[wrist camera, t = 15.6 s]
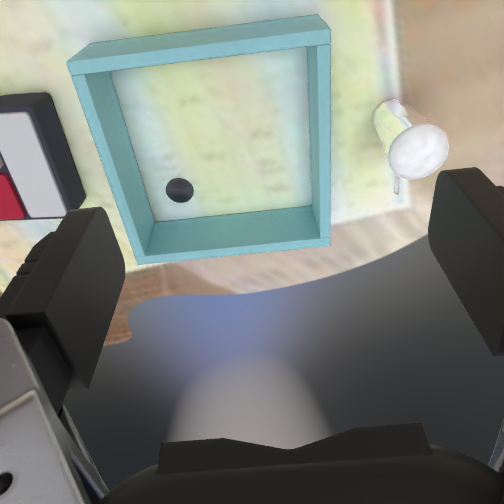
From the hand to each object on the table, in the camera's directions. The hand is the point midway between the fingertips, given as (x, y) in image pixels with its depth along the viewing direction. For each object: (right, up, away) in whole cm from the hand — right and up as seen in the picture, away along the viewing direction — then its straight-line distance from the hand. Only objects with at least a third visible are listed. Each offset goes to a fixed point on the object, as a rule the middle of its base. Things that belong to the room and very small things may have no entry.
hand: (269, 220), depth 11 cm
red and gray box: (-25, +9, +31) cm, 41 cm away
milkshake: (+12, +12, +29) cm, 34 cm away
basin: (-3, +10, +30) cm, 32 cm away
